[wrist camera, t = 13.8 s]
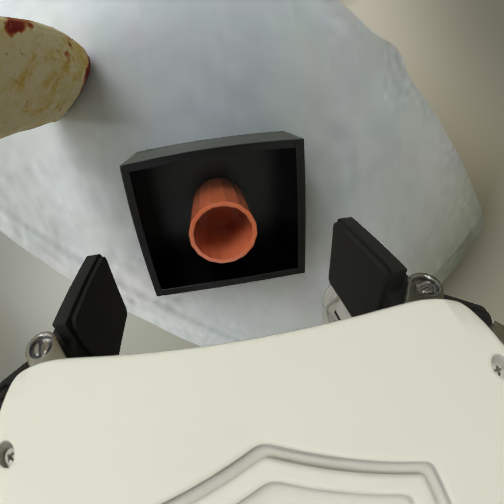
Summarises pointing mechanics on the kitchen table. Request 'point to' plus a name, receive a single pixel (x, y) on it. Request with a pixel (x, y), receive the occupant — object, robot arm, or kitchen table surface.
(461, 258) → the kitchen table surface
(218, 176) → the black storage bin
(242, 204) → the cup
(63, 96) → the food model
